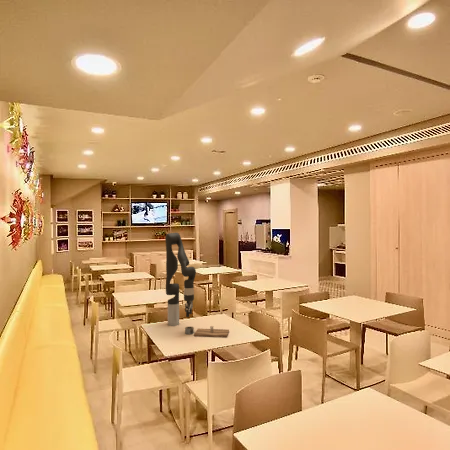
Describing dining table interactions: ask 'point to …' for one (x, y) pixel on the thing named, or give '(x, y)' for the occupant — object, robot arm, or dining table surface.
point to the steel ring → (189, 330)
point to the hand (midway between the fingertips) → (189, 315)
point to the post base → (211, 332)
